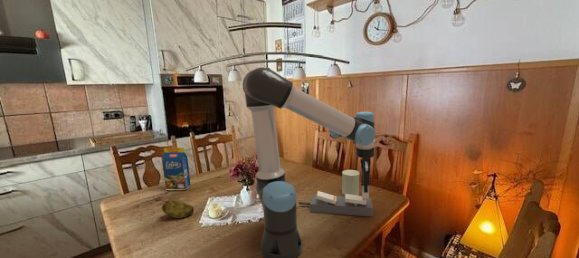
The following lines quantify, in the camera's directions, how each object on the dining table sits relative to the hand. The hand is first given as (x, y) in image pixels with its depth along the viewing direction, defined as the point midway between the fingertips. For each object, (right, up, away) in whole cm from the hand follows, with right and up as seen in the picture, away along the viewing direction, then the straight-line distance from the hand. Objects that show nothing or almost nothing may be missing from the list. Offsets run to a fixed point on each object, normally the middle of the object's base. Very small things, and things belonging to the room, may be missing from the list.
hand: (365, 197), depth 112 cm
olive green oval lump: (-86, -10, +3) cm, 87 cm away
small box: (-4, -1, +1) cm, 5 cm away
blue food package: (-100, -5, +35) cm, 106 cm away
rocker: (-17, -1, +4) cm, 18 cm away
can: (-1, -4, +22) cm, 23 cm away
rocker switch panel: (-13, -7, +6) cm, 16 cm away
